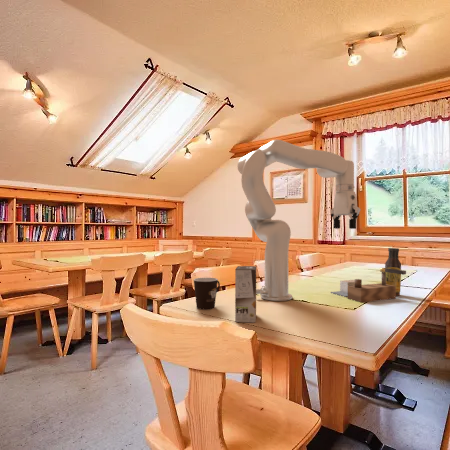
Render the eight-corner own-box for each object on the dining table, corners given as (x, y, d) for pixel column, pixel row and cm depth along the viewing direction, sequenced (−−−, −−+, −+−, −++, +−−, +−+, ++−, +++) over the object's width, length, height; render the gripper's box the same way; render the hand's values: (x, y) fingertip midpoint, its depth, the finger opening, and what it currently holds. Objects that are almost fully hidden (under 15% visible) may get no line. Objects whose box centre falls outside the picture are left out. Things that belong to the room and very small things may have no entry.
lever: (407, 274, 126) (407, 270, 126) (402, 274, 125) (402, 271, 125) (382, 270, 135) (382, 267, 135) (378, 271, 134) (378, 268, 134)
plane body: (360, 302, 124) (360, 275, 124) (347, 298, 131) (347, 273, 131) (395, 298, 131) (395, 273, 131) (381, 295, 137) (381, 270, 137)
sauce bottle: (384, 295, 136) (384, 248, 136) (383, 292, 142) (383, 247, 142) (402, 297, 134) (402, 248, 134) (400, 294, 140) (400, 247, 140)
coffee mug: (199, 311, 111) (199, 282, 111) (190, 306, 118) (190, 278, 118) (229, 307, 116) (229, 279, 116) (218, 302, 124) (218, 276, 124)
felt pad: (345, 297, 133) (345, 296, 133) (330, 292, 142) (330, 292, 142) (367, 294, 138) (367, 293, 138) (352, 290, 146) (352, 290, 146)
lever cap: (347, 294, 137) (347, 282, 137) (340, 292, 141) (340, 280, 141) (360, 293, 139) (360, 281, 140) (352, 291, 144) (352, 279, 144)
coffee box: (256, 323, 98) (256, 269, 98) (234, 322, 98) (234, 269, 98) (256, 314, 107) (256, 265, 107) (236, 314, 108) (236, 265, 108)
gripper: (366, 187, 136) (366, 228, 136) (337, 191, 152) (337, 228, 152) (352, 186, 133) (352, 228, 133) (324, 191, 149) (324, 228, 149)
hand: (344, 228), depth 142 cm, fingers open, 9 cm apart
